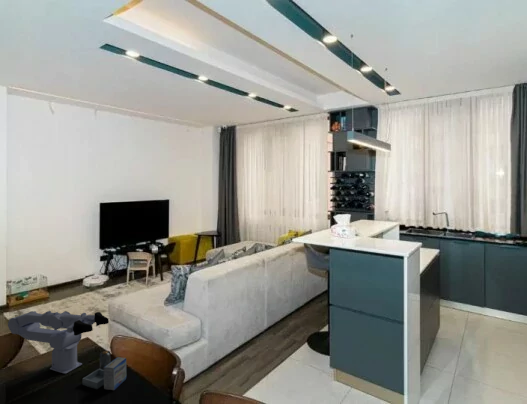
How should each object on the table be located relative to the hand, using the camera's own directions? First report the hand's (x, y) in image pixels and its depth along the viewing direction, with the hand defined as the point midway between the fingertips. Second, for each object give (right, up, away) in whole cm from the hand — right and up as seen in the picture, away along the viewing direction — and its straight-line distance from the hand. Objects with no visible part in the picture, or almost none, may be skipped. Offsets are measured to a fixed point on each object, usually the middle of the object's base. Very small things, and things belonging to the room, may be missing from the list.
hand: (100, 324), depth 129 cm
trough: (0, -22, -2) cm, 22 cm away
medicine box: (+8, -22, -3) cm, 24 cm away
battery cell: (-1, -22, +7) cm, 23 cm away
